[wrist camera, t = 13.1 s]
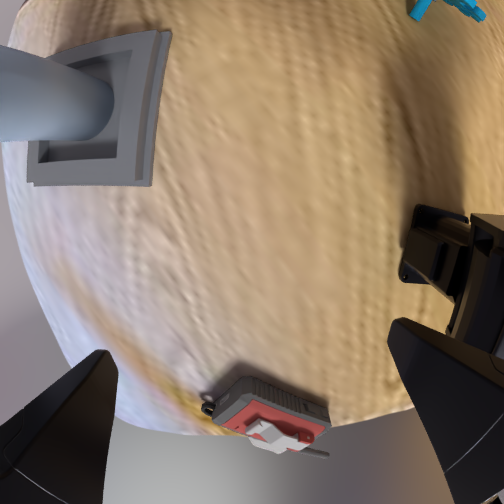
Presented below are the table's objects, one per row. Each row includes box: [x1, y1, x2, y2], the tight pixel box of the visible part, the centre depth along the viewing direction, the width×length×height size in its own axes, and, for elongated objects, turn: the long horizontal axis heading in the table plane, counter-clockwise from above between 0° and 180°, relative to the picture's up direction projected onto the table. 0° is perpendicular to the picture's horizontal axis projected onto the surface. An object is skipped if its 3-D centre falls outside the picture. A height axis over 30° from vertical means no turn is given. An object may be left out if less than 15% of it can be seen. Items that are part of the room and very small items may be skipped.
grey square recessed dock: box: [27, 30, 172, 187], centre depth 15 cm, size 12×12×2 cm
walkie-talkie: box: [201, 376, 332, 459], centre depth 24 cm, size 9×4×20 cm
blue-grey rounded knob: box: [0, 45, 114, 142], centre depth 9 cm, size 5×5×13 cm
